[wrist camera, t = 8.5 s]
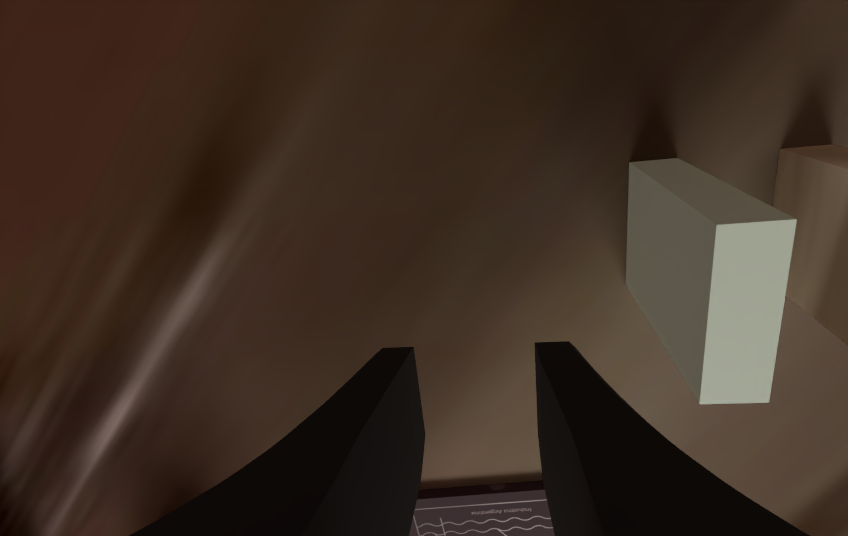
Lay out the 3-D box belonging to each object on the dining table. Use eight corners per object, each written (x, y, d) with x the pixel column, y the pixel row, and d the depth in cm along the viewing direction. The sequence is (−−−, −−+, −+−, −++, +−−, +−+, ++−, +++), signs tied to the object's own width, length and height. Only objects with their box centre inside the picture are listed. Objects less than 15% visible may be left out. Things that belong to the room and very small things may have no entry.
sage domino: (677, 158, 17) (797, 219, 10) (669, 282, 18) (768, 402, 12) (629, 162, 17) (716, 224, 11) (625, 284, 19) (699, 404, 12)
